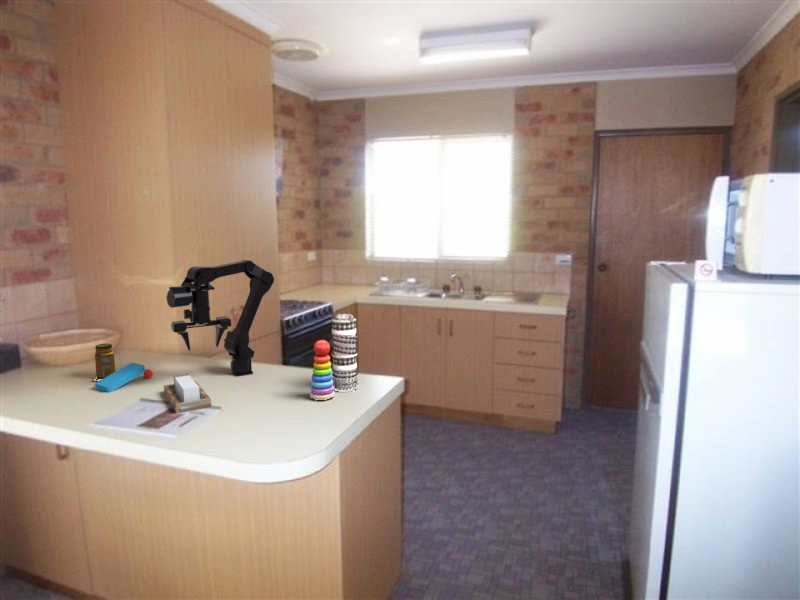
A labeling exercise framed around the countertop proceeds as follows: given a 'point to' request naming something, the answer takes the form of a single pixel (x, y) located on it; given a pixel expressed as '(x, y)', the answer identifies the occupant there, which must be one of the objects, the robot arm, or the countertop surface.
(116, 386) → the lever
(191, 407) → the wooden tray
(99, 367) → the condiment
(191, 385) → the white tall block
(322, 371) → the stacking toy
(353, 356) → the decorative candle
